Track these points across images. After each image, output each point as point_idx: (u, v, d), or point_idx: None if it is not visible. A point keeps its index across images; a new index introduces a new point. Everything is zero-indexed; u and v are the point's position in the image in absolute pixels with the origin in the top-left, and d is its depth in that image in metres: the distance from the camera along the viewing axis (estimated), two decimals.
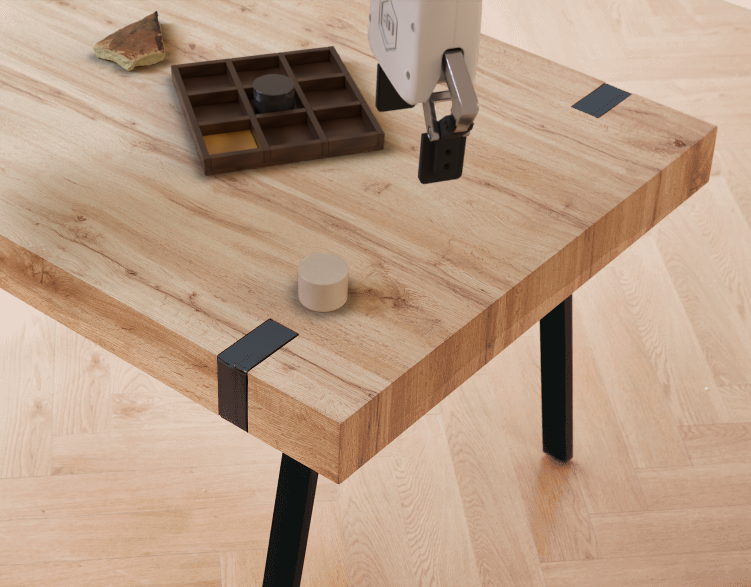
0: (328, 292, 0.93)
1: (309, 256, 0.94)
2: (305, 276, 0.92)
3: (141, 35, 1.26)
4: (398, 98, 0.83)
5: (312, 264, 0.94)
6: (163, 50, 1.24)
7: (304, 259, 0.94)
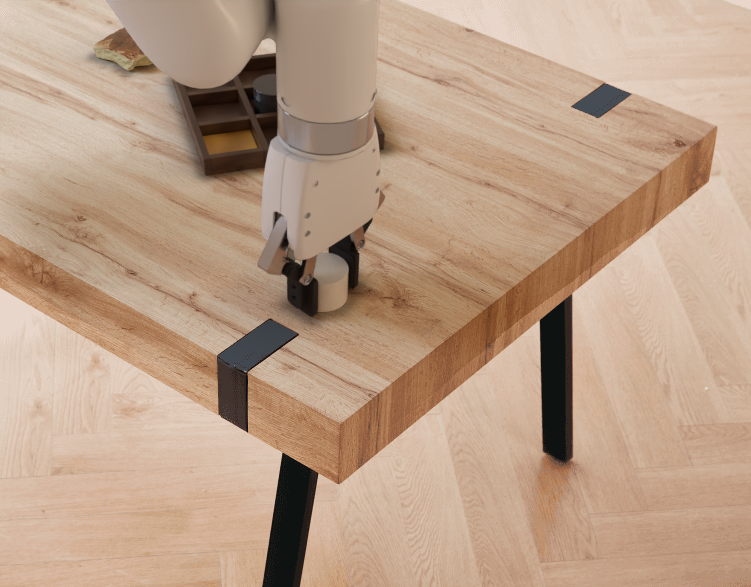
0: (328, 293, 0.93)
1: None
2: None
3: None
4: None
5: None
6: None
7: None
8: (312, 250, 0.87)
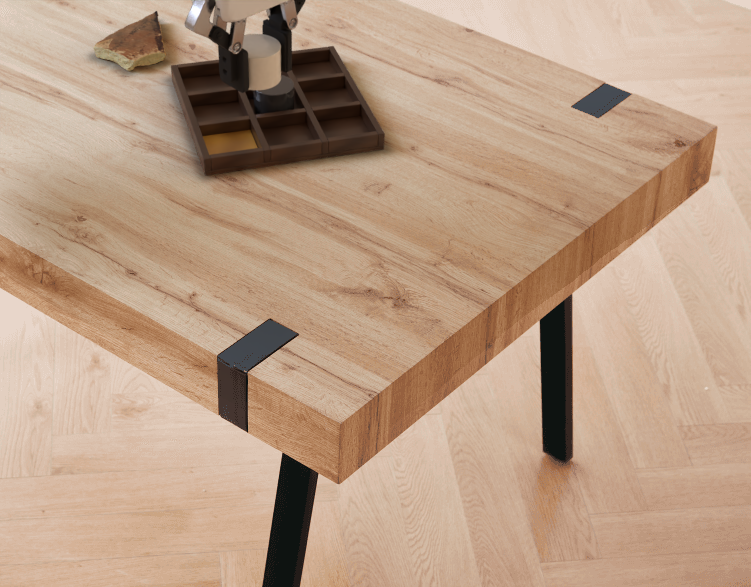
0: (259, 68, 0.93)
1: None
2: None
3: (141, 35, 1.26)
4: None
5: (245, 42, 0.95)
6: (163, 50, 1.24)
7: None
8: (239, 11, 0.88)
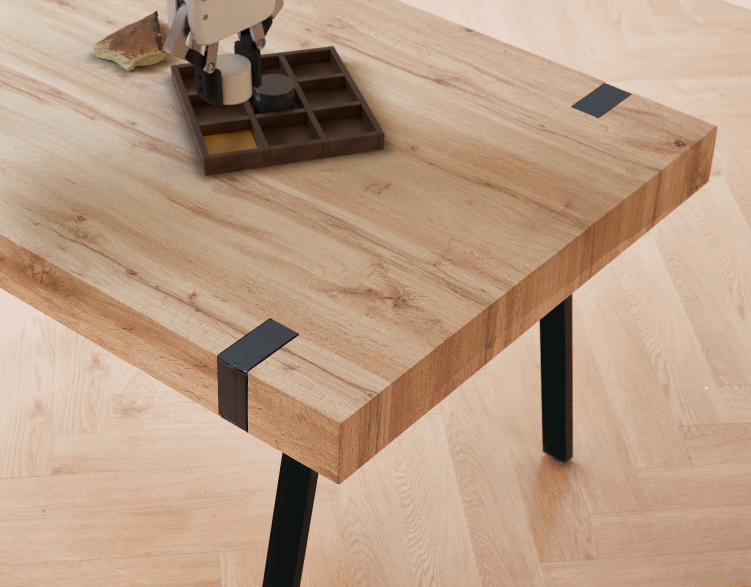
0: (232, 84, 1.04)
1: None
2: None
3: (141, 35, 1.26)
4: None
5: (218, 62, 1.05)
6: (163, 50, 1.24)
7: None
8: (211, 35, 0.98)
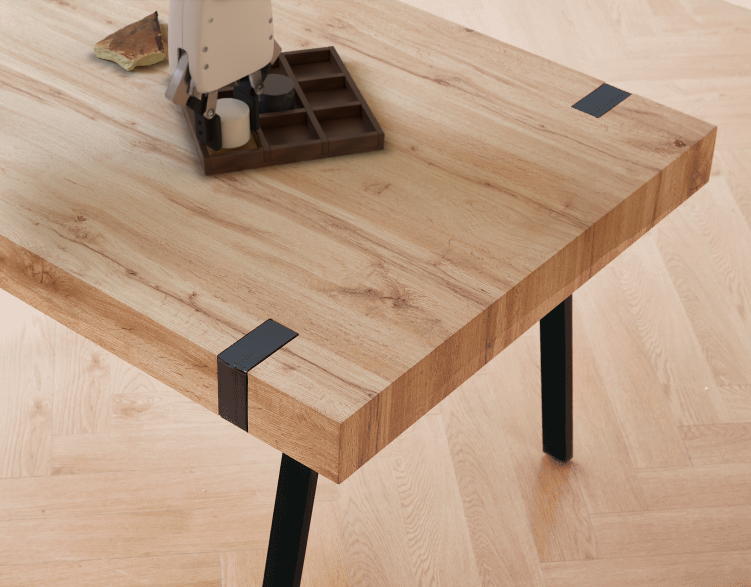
0: (231, 129, 1.07)
1: None
2: None
3: (141, 35, 1.26)
4: None
5: (218, 106, 1.08)
6: (163, 50, 1.24)
7: None
8: (212, 84, 1.02)
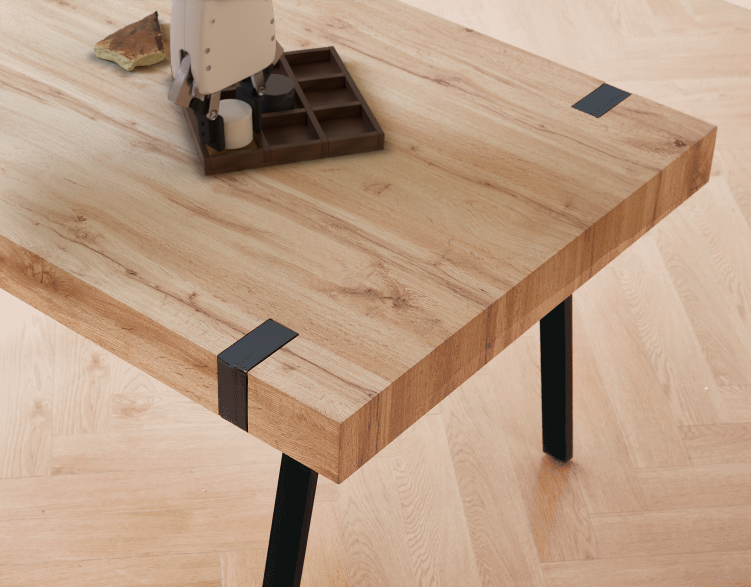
0: (233, 130, 1.07)
1: None
2: None
3: (141, 35, 1.26)
4: None
5: (220, 107, 1.08)
6: (163, 50, 1.24)
7: None
8: (214, 85, 1.02)
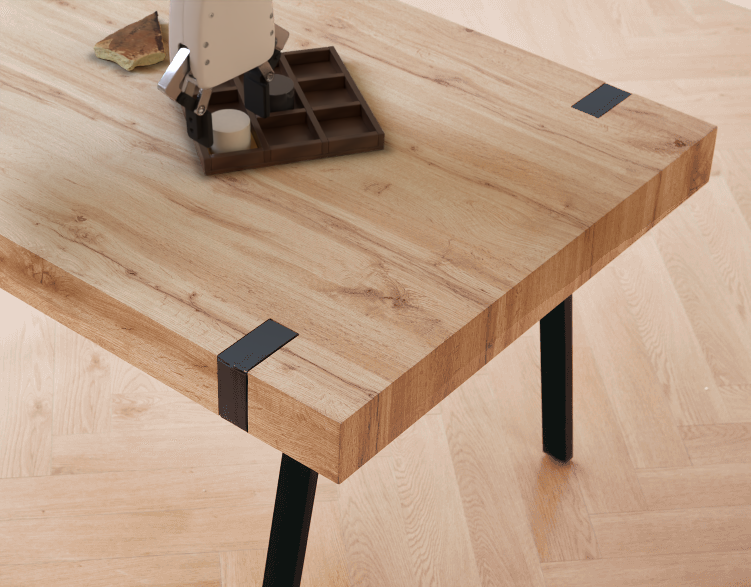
0: (232, 140, 1.08)
1: (217, 112, 1.10)
2: None
3: (141, 35, 1.26)
4: (254, 104, 1.11)
5: (219, 117, 1.09)
6: (163, 50, 1.24)
7: (212, 114, 1.10)
8: (213, 79, 1.01)
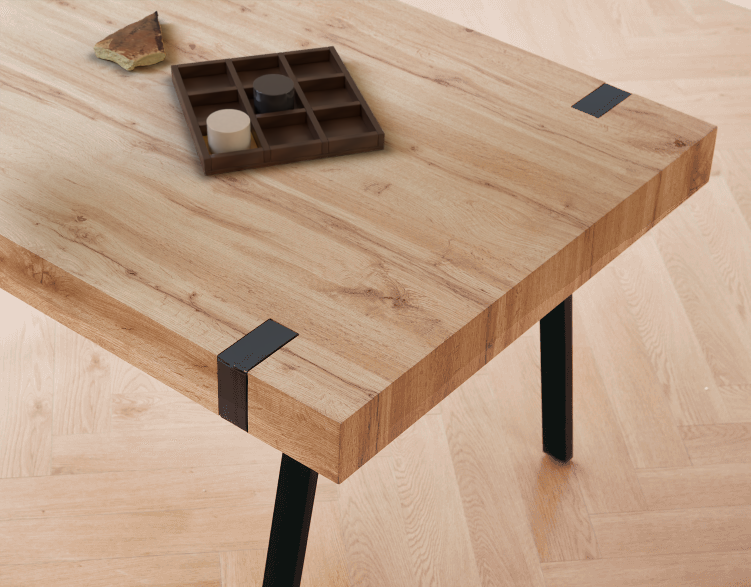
0: (232, 140, 1.08)
1: (217, 112, 1.10)
2: (212, 126, 1.08)
3: (141, 35, 1.26)
4: None
5: (219, 117, 1.09)
6: (163, 50, 1.24)
7: (212, 114, 1.10)
8: None
